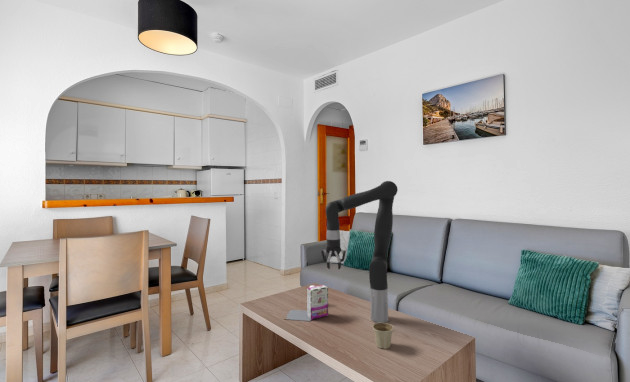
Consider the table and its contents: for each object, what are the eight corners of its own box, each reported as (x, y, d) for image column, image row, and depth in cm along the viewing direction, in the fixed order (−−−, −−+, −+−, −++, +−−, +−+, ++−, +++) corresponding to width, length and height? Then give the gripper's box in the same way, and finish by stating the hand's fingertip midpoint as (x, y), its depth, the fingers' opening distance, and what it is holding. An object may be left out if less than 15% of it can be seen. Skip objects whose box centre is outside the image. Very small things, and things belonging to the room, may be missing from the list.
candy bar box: (323, 312, 181) (324, 284, 181) (328, 316, 177) (328, 287, 176) (306, 316, 176) (306, 287, 175) (310, 320, 171) (311, 290, 171)
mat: (315, 311, 183) (315, 311, 183) (310, 321, 170) (310, 320, 170) (290, 310, 186) (290, 309, 186) (283, 319, 173) (283, 318, 173)
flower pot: (378, 338, 150) (378, 320, 150) (397, 344, 144) (397, 325, 144) (369, 346, 142) (368, 327, 142) (388, 353, 136) (387, 333, 136)
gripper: (347, 237, 175) (347, 267, 176) (321, 236, 178) (322, 266, 179) (345, 239, 168) (346, 271, 168) (319, 239, 171) (320, 270, 171)
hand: (334, 268), depth 174 cm, fingers open, 5 cm apart
